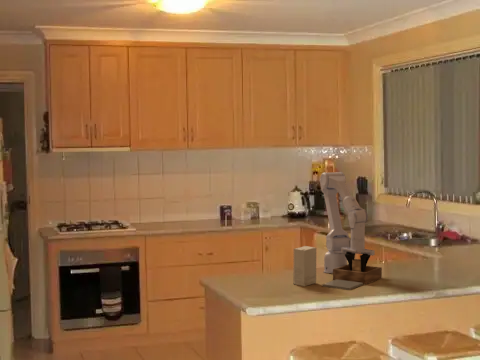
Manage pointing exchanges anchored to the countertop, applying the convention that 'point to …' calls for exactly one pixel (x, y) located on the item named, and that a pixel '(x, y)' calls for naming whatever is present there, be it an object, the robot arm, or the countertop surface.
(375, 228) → the countertop surface
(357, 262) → the maple spool
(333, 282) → the slate tile
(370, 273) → the walnut crate
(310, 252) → the skincare box
